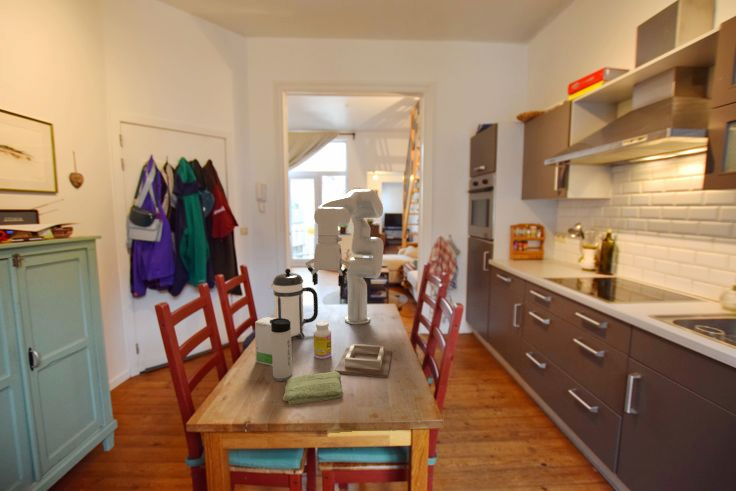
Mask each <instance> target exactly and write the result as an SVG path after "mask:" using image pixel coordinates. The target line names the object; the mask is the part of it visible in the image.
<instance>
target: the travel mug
mask: <svg viewBox="0 0 736 491" xmlns="http://www.w3.org/2000/svg"><path fill="white" fill-rule="evenodd" d="M270 324H271V338H272V362H273V366H272V379H273V380H274V381H277V382H284V381H287V380H288V379H289V378H292V377H293V359H292V358H293V355H292V354H293V351H292V337H291V327H290V321H289V320H288V319H284V318H276V319H273V320H270Z"/></svg>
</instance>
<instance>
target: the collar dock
mask: <svg viewBox="0 0 736 491" xmlns="http://www.w3.org/2000/svg"><path fill="white" fill-rule="evenodd" d="M392 354H393V350H386V349H385V346H384V345H377V344H375V345H374V344H360V343H359V344H358V343H352V344H351V345H350V346H349V347H345V350H344V352H343V354H342V356H341V358H340V360H339V362H338V364H337V365H336V368H335V369H334V371H336V372H338V373H339V374H340V375H341V374H342V375H351V376H352V375H353V376H354V375H355V376H365V377H366V376H367V377H376V378H377V377H378V378H388V376H389V370H390V365H391V360H392Z"/></svg>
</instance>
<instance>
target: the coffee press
mask: <svg viewBox="0 0 736 491" xmlns="http://www.w3.org/2000/svg"><path fill="white" fill-rule="evenodd" d="M284 272H285V273H281V274H278V275H276V276H275V277H274V278H273V281H272V283H271V284H270V286H269V289H273V296H274V298H273V299H274V300H273V301H274V318H284V319H288V320H289V321H290V327H291V338H292V337H296V336H298V337H299V339H304V338H305V336H306V335H305V333H304V332H303V331H304V330H305V329H304V328H305V327H304V325H305V324H309V323H312V322H314V321H315V320H316V319H317V317H318V314H319V303H318V301H319V298H318V293H317V292H316V290H315V289H314V288H313V287H308V286H306V287H304V286H303V283H304V279H303V277H302V276H301V275H300V274H298V273H292V272H291V269H290V268H286V269H285V270H284ZM304 292H310V293H311V294H312V295H313V297H312V298H313V299H312V300H313V315H312V316H311V317H309V318H304V299H303V298H304V294H303V293H304Z"/></svg>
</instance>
